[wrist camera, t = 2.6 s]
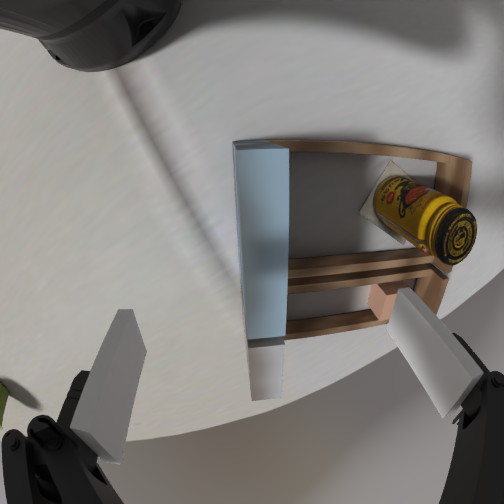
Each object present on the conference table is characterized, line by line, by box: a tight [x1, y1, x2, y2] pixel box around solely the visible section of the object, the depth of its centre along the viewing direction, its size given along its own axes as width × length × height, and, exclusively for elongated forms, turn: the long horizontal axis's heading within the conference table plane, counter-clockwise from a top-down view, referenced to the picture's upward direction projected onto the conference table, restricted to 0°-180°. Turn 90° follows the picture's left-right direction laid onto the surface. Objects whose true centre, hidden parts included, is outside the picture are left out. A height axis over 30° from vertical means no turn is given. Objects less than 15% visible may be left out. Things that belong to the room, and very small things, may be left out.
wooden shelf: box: [233, 140, 472, 339], centre depth 24 cm, size 26×14×11 cm, turn 92°
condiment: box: [359, 160, 477, 266], centre depth 24 cm, size 7×8×12 cm
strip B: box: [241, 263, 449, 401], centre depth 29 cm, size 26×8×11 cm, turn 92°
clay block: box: [367, 280, 408, 321], centre depth 33 cm, size 4×4×4 cm
